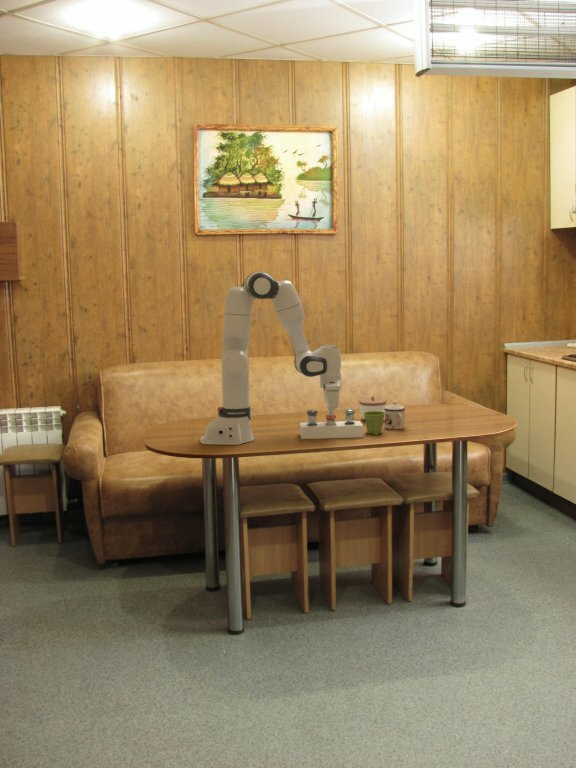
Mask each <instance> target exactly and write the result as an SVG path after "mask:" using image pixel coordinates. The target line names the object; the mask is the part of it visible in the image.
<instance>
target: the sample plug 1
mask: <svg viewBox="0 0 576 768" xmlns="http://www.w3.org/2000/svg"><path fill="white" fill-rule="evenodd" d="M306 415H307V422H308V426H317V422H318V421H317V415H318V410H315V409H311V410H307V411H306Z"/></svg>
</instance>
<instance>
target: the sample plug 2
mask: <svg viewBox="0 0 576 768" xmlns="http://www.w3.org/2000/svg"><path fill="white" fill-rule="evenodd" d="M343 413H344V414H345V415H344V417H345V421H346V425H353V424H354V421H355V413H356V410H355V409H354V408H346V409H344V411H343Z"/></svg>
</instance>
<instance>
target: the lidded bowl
mask: <svg viewBox="0 0 576 768" xmlns="http://www.w3.org/2000/svg"><path fill="white" fill-rule="evenodd" d="M358 403H359V412H360V415H361V417H362V418H363V419H364V420H365V417H364V414H363V413H364V412H369V411H381V412H385V409H384V408H385V407H386V406H387V400H386V399H383V398H375V396H374V395H373V396H371V398H362V399H359V401H358Z"/></svg>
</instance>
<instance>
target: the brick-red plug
mask: <svg viewBox="0 0 576 768" xmlns="http://www.w3.org/2000/svg"><path fill="white" fill-rule="evenodd" d="M325 419H326V422H327V425H335V422H336V419H337V415H336V414H334V415H333V416H329V414H326V415H325Z"/></svg>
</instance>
